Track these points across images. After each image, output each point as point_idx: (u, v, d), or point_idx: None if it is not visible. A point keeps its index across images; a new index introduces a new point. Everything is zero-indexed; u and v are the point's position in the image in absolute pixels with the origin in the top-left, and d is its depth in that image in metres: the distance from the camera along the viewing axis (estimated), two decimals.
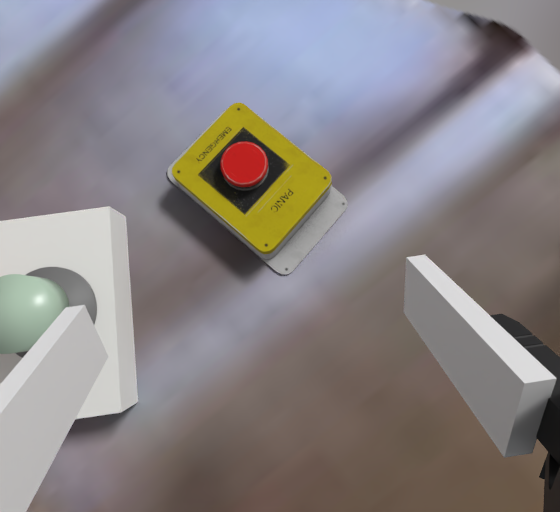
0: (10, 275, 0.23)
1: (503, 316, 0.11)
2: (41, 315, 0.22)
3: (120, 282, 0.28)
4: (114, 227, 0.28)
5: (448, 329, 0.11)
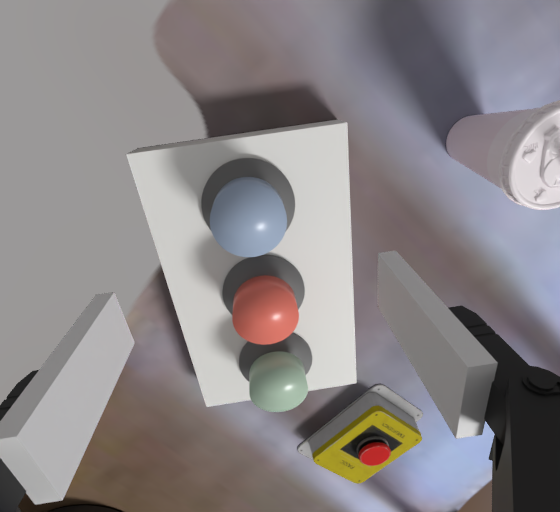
0: (307, 386, 0.30)
1: (462, 308, 0.11)
2: (277, 408, 0.31)
3: None
4: None
5: (411, 320, 0.12)
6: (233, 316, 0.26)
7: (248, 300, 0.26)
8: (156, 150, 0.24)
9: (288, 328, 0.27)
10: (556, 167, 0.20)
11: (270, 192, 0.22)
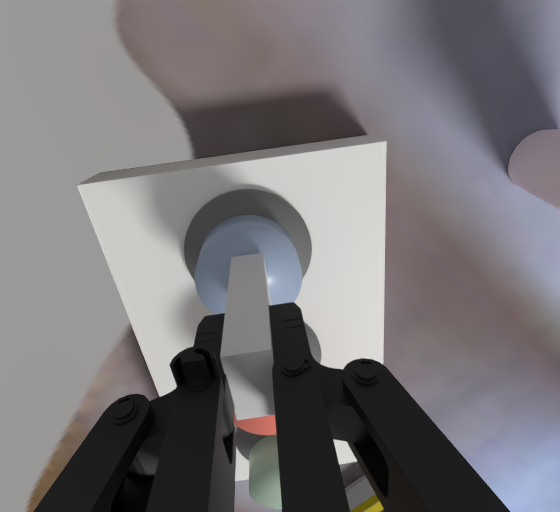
0: None
1: (293, 304, 0.13)
2: None
3: None
4: None
5: None
6: None
7: None
8: (119, 179, 0.17)
9: None
10: None
11: (280, 240, 0.16)
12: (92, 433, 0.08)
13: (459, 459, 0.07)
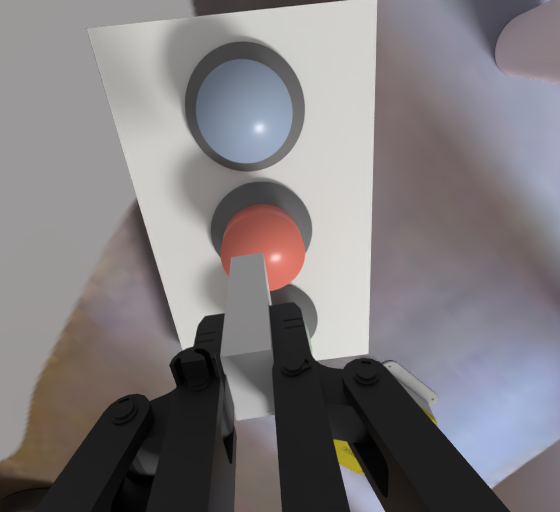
0: (311, 350, 0.25)
1: (293, 304, 0.13)
2: None
3: None
4: None
5: None
6: (222, 251, 0.21)
7: (241, 229, 0.20)
8: (126, 25, 0.19)
9: (291, 271, 0.21)
10: None
11: (273, 72, 0.18)
12: (92, 433, 0.08)
13: (459, 459, 0.07)
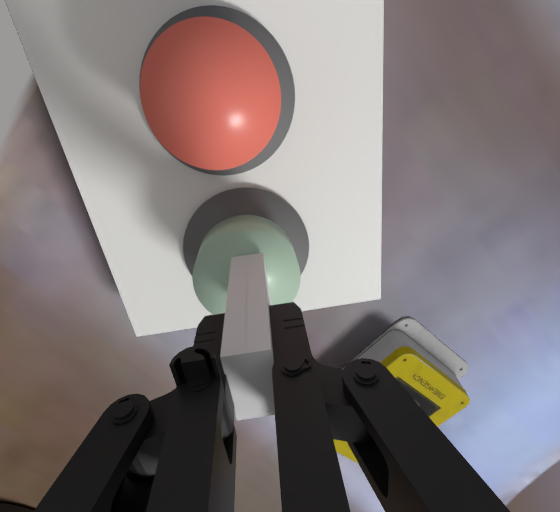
0: (298, 273, 0.17)
1: (293, 304, 0.13)
2: None
3: None
4: None
5: None
6: (142, 90, 0.12)
7: (171, 46, 0.12)
8: None
9: (260, 130, 0.13)
10: None
11: None
12: (92, 433, 0.08)
13: (458, 459, 0.07)
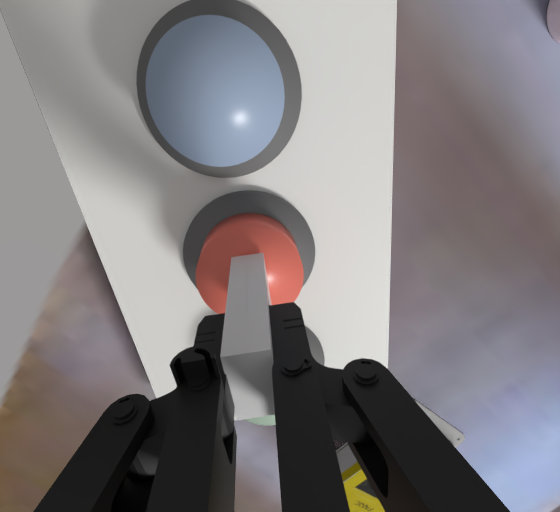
0: None
1: (293, 304, 0.13)
2: (269, 420, 0.21)
3: None
4: None
5: None
6: (197, 274, 0.16)
7: (221, 247, 0.16)
8: None
9: (286, 296, 0.17)
10: None
11: (254, 34, 0.12)
12: (92, 433, 0.08)
13: (459, 459, 0.07)
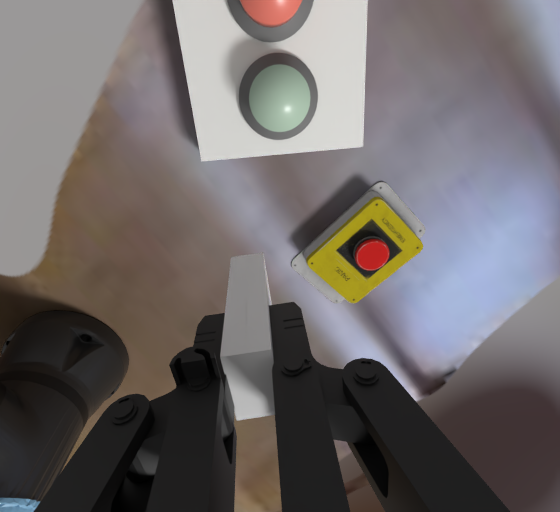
0: (309, 97, 0.29)
1: (293, 304, 0.13)
2: (276, 126, 0.30)
3: None
4: None
5: None
6: None
7: None
8: None
9: (294, 0, 0.26)
10: None
11: None
12: (92, 433, 0.08)
13: (459, 459, 0.07)
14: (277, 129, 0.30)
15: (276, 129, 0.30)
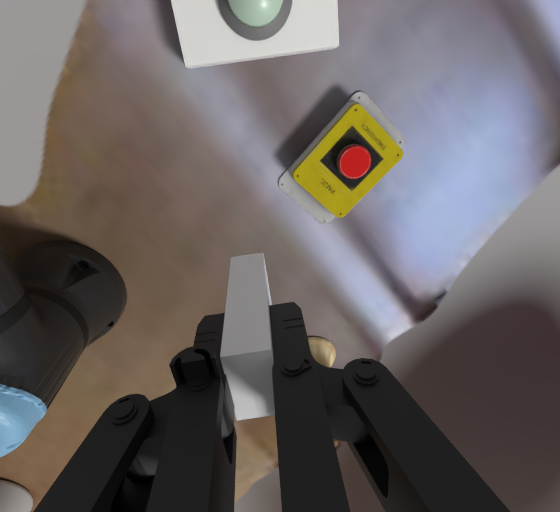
0: None
1: (293, 304, 0.13)
2: (254, 17, 0.31)
3: (279, 55, 0.36)
4: (322, 48, 0.36)
5: None
6: None
7: None
8: None
9: None
10: None
11: None
12: (92, 433, 0.08)
13: (458, 458, 0.07)
14: (255, 21, 0.31)
15: (254, 21, 0.31)
